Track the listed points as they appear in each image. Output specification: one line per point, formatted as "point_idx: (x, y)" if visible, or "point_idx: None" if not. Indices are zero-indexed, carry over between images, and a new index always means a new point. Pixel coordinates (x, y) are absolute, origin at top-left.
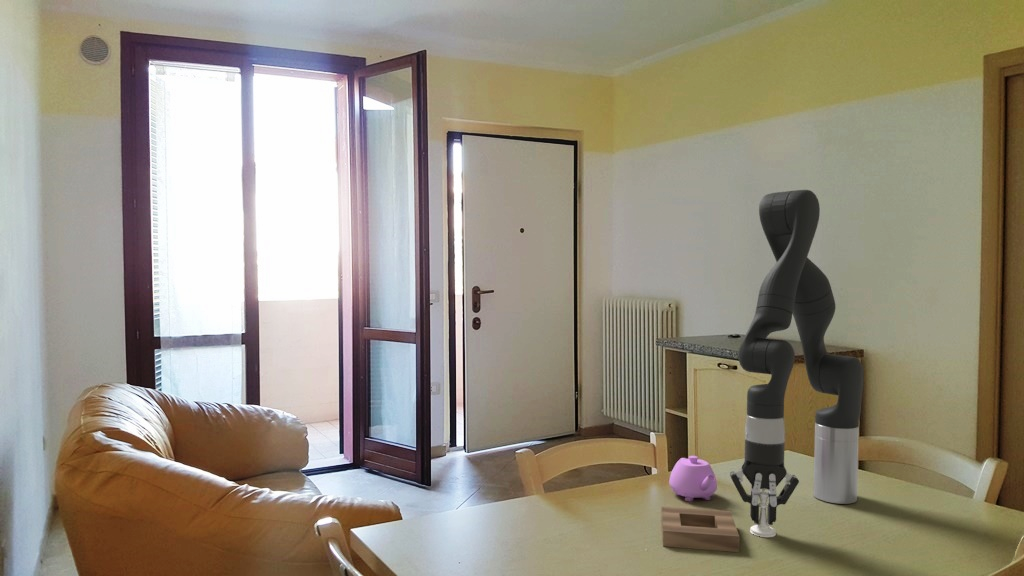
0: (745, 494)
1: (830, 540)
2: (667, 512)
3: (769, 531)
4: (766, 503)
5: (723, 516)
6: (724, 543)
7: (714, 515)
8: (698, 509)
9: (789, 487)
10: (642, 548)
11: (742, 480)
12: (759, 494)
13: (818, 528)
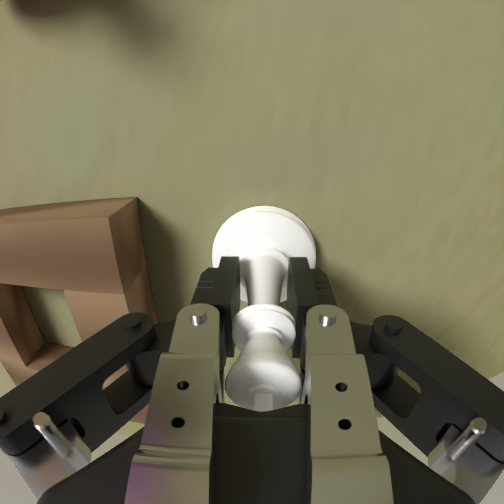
0: (141, 403)
1: (469, 276)
2: None
3: (284, 296)
4: (282, 344)
5: (91, 295)
6: None
7: (62, 287)
8: (7, 229)
9: (428, 451)
10: None
11: (89, 454)
12: (230, 398)
13: (482, 171)
